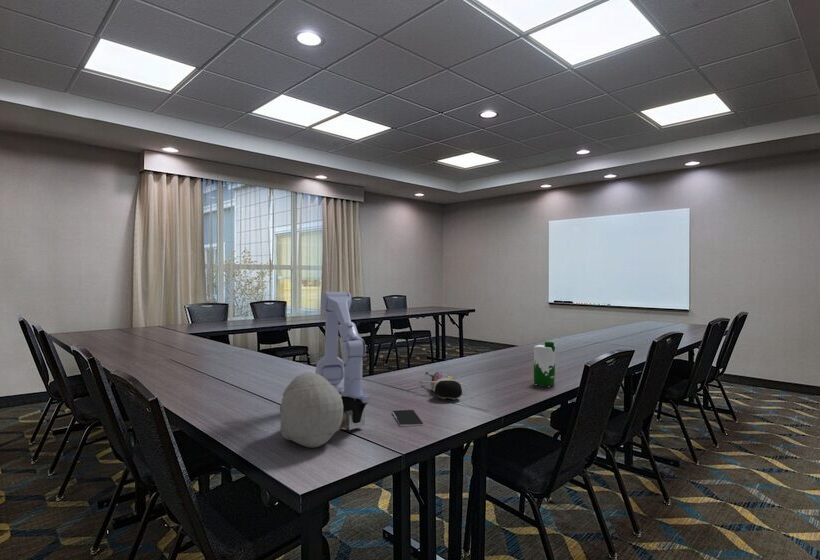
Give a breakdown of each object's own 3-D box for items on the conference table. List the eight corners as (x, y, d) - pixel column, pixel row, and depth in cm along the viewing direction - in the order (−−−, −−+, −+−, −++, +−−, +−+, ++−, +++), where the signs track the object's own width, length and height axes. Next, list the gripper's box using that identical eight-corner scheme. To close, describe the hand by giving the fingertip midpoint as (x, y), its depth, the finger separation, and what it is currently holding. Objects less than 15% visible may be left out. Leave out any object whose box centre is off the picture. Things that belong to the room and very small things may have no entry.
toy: (412, 386, 198) (422, 400, 169) (414, 366, 199) (424, 377, 169) (461, 389, 201) (480, 403, 171) (463, 369, 202) (481, 380, 172)
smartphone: (400, 424, 141) (391, 410, 156) (400, 428, 141) (391, 414, 156) (424, 423, 143) (413, 409, 158) (424, 427, 143) (413, 412, 158)
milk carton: (550, 388, 195) (551, 343, 195) (531, 385, 201) (531, 341, 201) (556, 384, 202) (557, 341, 202) (537, 381, 208) (538, 339, 208)
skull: (321, 421, 145) (321, 361, 145) (349, 449, 122) (350, 378, 122) (268, 429, 137) (269, 365, 137) (288, 461, 113) (289, 384, 113)
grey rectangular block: (341, 426, 137) (342, 412, 137) (357, 422, 141) (357, 408, 141) (349, 429, 134) (349, 415, 134) (364, 425, 138) (365, 411, 138)
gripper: (329, 375, 140) (329, 417, 140) (356, 384, 129) (355, 429, 129) (347, 372, 145) (347, 413, 145) (375, 380, 134) (374, 424, 134)
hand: (352, 420), depth 137 cm, fingers closed on grey rectangular block, 4 cm apart
